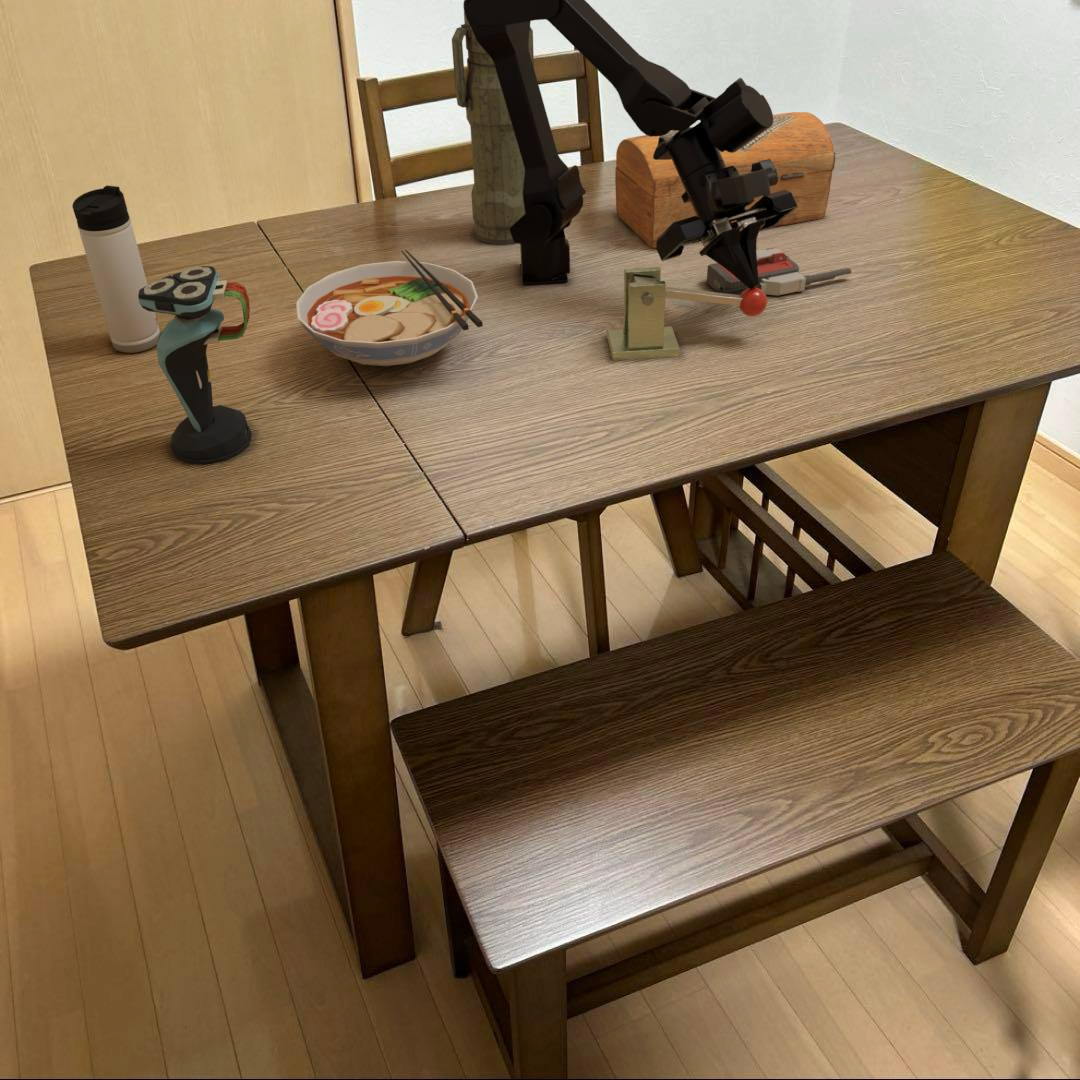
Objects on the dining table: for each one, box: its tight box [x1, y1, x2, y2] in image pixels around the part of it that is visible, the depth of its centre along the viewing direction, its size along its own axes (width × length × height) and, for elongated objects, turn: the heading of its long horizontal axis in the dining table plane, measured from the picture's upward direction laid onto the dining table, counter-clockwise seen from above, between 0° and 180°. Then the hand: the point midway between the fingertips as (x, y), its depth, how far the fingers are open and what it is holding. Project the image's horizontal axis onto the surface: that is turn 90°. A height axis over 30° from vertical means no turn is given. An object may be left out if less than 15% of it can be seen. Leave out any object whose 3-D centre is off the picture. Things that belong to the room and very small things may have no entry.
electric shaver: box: [138, 265, 253, 465], centre depth 124 cm, size 9×12×20 cm
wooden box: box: [614, 111, 836, 248], centre depth 173 cm, size 30×16×14 cm, turn 109°
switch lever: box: [633, 276, 768, 317], centre depth 141 cm, size 17×4×4 cm, turn 95°
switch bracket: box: [606, 266, 681, 361], centre depth 141 cm, size 8×6×10 cm
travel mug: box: [71, 185, 161, 354], centre depth 143 cm, size 6×7×20 cm
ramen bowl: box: [295, 249, 483, 367], centre depth 143 cm, size 25×23×8 cm
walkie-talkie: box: [706, 247, 852, 296], centre depth 157 cm, size 9×4×20 cm
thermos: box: [451, 13, 535, 245], centre depth 164 cm, size 9×12×35 cm
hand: (754, 286), depth 140 cm, fingers closed
